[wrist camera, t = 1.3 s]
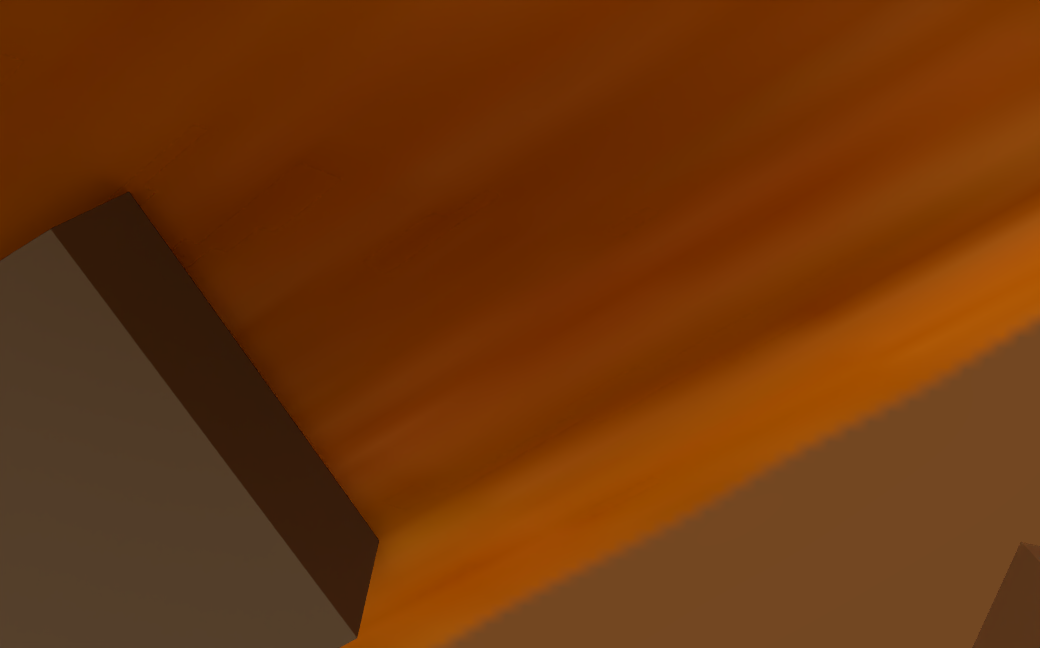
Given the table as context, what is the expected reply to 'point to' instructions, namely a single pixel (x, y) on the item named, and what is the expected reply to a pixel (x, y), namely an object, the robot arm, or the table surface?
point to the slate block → (155, 464)
